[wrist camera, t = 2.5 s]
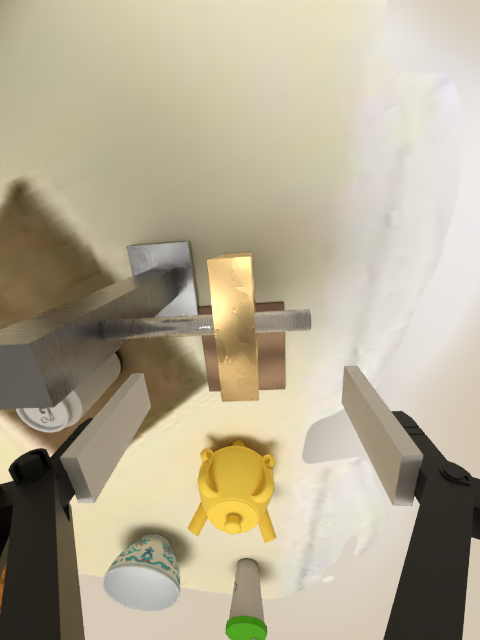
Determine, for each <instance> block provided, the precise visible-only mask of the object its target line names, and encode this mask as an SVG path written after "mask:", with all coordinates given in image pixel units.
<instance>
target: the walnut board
mask: <svg viewBox="0 0 480 640" xmlns="http://www.w3.org/2000/svg"><path fill="white" fill-rule="evenodd" d="M255 307H256V312H268V311H284V302H275V303H257V304H255ZM198 312H199V315H213V312H212V306H205V307H198ZM202 341H203V348H204V355H205V363H206V370H207V377H208V384H209V391H221V387H220V378H219V369H218V359H217V350H216V340H215V335H202ZM257 343H258V382H259V390H274V389H285V341H284V331H282V332H262V333H257Z"/></svg>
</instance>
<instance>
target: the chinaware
mask: <svg viewBox="0 0 480 640" xmlns="http://www.w3.org/2000/svg"><path fill="white" fill-rule="evenodd" d="M103 588H104V591H105V592H106V594H107V595H108V596H109V597H110V598H111V599H113V600H114V601H116V602H117V603H119V604H121V605H123V606H125V607H128V608H131V609H135V610H141V611H160V610H165V609H168V608H170V607H172V606H173V605H174V604H175V603H176V602H177V601H178V599H179V594H180V572H179V566H178V562H177V559H176V557H175V555H174V553H173V551H172V550H171V549H170V543H169V541H168V540H167V539H166V538H165V537H163V536H161V535H157V534H148V535H145V536H143V537H142V538H141V540H140V541H138V542H136V543H134V544H132V545H130V546H129V547H127V548H126V549H125V550H124V551H123V552H122V553H121V554H120V555H119V556H118V557H117V558H116V559H115V561H114V562H113V563H112V565H111V566H110V568H109V569H108V571H107V573H106V574H105V576H104V579H103Z"/></svg>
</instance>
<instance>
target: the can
mask: <svg viewBox="0 0 480 640" xmlns="http://www.w3.org/2000/svg"><path fill="white" fill-rule="evenodd" d="M120 370H121V365H120V361H119V359H118V357H117V355H116V354H115V353H114V354H113V355H112V356H111V357H110V358H108V359H107V360H106V361H105V362H104V363H103V364H102V365H101V366H100V367H98V368H97V369H96V370H95V371H94V372H93V373H92V374H91V375H90V376H88V377H87V378H86V379H85V380H84V381H83V382H82V383H81V384H80V385H79V386H77V387H76V388H75V389H74V390H73V391H72V392H71V393H70V394H69V395H67V396H66V397H65V398H64V399H63V400H62V401H61V402H60V403H59V404H57V405H56V406H55V407H54V408H18V409H16V410H17V413H18V415H19V416H20V418H21V419H22V420H23V421H24V422H25V423H26V424H28V425H29V426H30V427H32V428H34V429H36V430H39V431H43V432H57V431H60V430H62V429H63V428H65V427H68V426H72V425H73V424H75V423H76V422H78V421H79V420H80V418H81V417H82V416H83V415H84V414H85V413H86V412H87V411H88V410H89V409H90V407H91V406H92V405H93V404H94V403H95V402H96V401H97V400H98V399H99V398H100V396H101V395H102V394H103V393H104V392H105V391H106V390H107V389H108V388H109V387H110V385H111V384H112V383H113V382H114V381H115V380H116V379H117V377H118V376H119V374H120Z"/></svg>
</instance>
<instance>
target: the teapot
mask: <svg viewBox="0 0 480 640" xmlns="http://www.w3.org/2000/svg"><path fill="white" fill-rule="evenodd" d="M201 459H202V460H203V461H204V462H203V463H202V465H201V468H200V472H199V477H198V486H199V493H200V498H201V503H200V505H199V507H198V509H197V511H196V513H195V515H194V517H193V519H192V521H191V523H190V525H189V527H188V529H189V530H190V531H191V532H192V533H194V534H195V535H197V536H198V535H199V533H200V531H201V529H202V528H203V526H204V524H205V522H206V520H207V518H209V520H210V522H211V523H212V524H213V525H214V526H215V527H216V528H218V529H220V530H222V531H224V532H227V533H229V534H238V533H243V532H247V531H249V530H251V529H252V528H254V527H255V526H256V525H257V523H258V525H259V528H260V530H261V533H262V536H263V539H264V542H265V543H267V542H269V541H271V540H273V539H275V538H276V535H275V532H274V529H273V526H272V523H271V520H270V517H269V514H268V511H267V506H268V504H269V502H270V499H271V496H272V494H273V491H274V481H273V472H272V469H271V468H273V467H274V465H275V458H274V457H273V456H272V455H265V456H264V457H262V456H261V455H259V454H258V453H257V452H255V451H253V450H252V449H249V448H247V447H245V444H244V442H243V441H240V440H236V441H234V442H233V444H232V446H227V447H224V448H221V449H219V450H217V451H215V452H213V451H212V450H210V449H204V450H203V451H202V452H201Z"/></svg>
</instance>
